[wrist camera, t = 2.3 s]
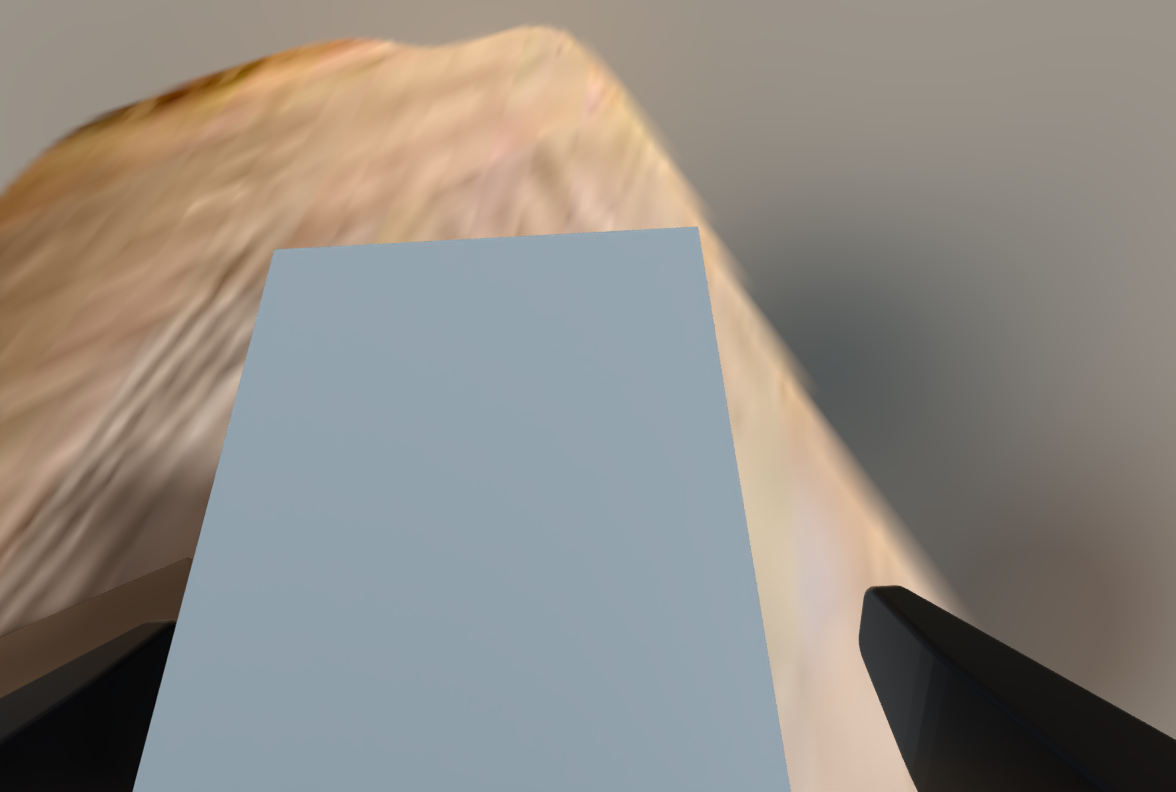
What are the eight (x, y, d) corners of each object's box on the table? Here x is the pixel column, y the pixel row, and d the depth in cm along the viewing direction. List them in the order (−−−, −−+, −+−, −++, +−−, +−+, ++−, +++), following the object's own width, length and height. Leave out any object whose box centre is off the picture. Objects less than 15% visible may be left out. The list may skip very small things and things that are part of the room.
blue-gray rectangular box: (660, 755, 14) (826, 1006, 3) (479, 763, 14) (70, 1036, 3) (641, 516, 17) (698, 226, 6) (488, 523, 17) (274, 250, 6)
